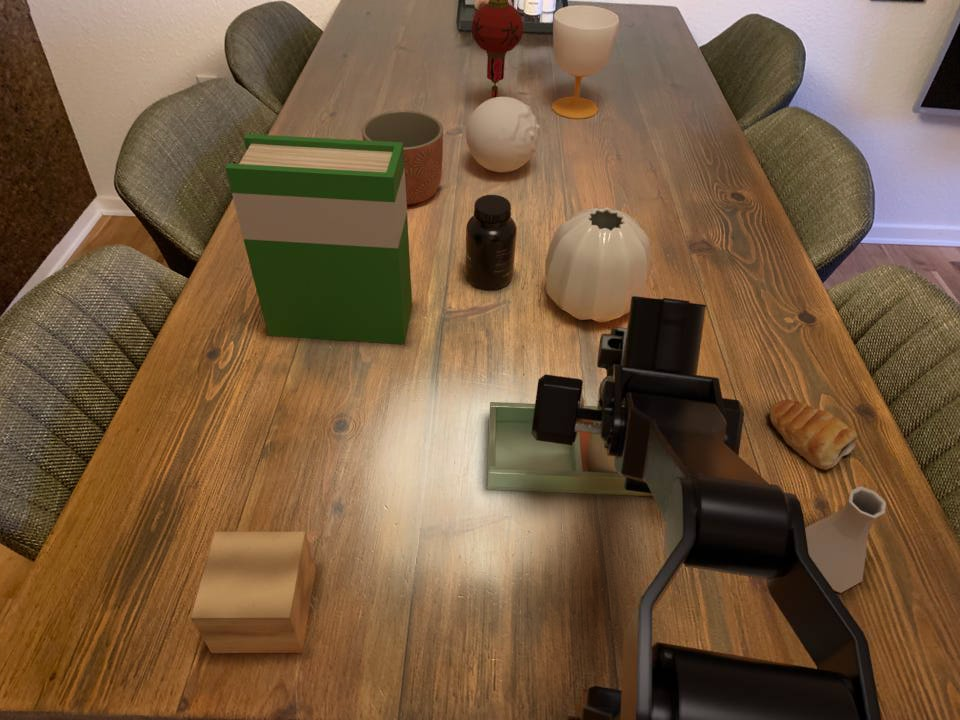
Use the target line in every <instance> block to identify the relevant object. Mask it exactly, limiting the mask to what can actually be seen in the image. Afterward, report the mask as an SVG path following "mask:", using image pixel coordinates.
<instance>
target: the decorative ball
mask: <svg viewBox="0 0 960 720" xmlns="http://www.w3.org/2000/svg"><path fill="white" fill-rule="evenodd" d="M540 129H541V127H540V125H539V124H538V120H537V118H536V115H535V114H533V111H532V108H531V107H530V105H528V104H527V103H525V102H522V101H521V100H519V99H517V98H514V97H511V96H498V97H495V98H492V99H491V98H488V99H486V100H485V101H483V102H482V103H480V105H478V106H477V107H476V108H475V110H474V111H473V112H472V114H471V115H470V117H469V119H468V121H467V125H466V132H465V137H466V139H465V140H466V144H467V148H468V150H469V153H470V155H471V156H472V158H473V159H474V160H475V161H476V162H477V164H479V165H480V166H482V168H484V169H486V170H489V171H492V172H495V173H510V172H512V171H515V170H518V169H519V168H521V167H522V166H524V165H525V164H526V163H528V162H529V160H530V159H531V158H532V157H533V155H534V153H536V152H537V149H538V146H539V141H540V140H539V131H540Z"/></svg>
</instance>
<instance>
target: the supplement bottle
mask: <svg viewBox="0 0 960 720" xmlns="http://www.w3.org/2000/svg"><path fill="white" fill-rule="evenodd" d="M511 210H512V205H511V202H510V200H509V199H507V197H504V196H501V195H498V194H485V195H482V196H480V197H478V198H477V199H476V200H475V202H474V206H473V215H472V216H471V217H470V219H469V220H468V221H467V223H466V227H465V266H464V267H465V271H464V272H465V277H466V278H467V281H468V282H469V283H470V284H472V285H473V286H474V287H476V288H478V289H479V288H480V289H481V290H488V291H489V290H490V291H491V290H498V289H501V288H503V287H505V286H507V285H508V284H509V283H511V281H512V279H513V277H514V269H515V259H516V258H515V256H516V255H515V254H516V245H517V231H518V229H517V224H516V222H515V220H514V219H513V218H512V211H511Z"/></svg>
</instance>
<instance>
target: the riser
mask: <svg viewBox="0 0 960 720" xmlns="http://www.w3.org/2000/svg"><path fill="white" fill-rule="evenodd" d="M316 571H317V569H316V565H315V562H314V558H313V555H312V552H311V549H310V545H309V540H308V538H307V534H306V531H214V534H213V537H212V541H211V544H210V548H209V551H208V554H207V558H206V562H205V564H204V570H203V571H202V572H203V573H202V575H201V579H200V583H199V586H198V589H197V594H196V598H195V601H194V604H193V608H192V611H191V615H190V619H191V621H192V623H193V624H194V627H195V628H196V630H197V631H198V633H199V634H200V636H201V638H202V640H203V642H204V643H205V645H206V646H207V649H208V650H209V651H210V653H211V654H302V653H303V652H304V647H305V641H306V633H307V627H308V620H309V615H310V608H311V602H312V597H313V591H314V583H315V578H316Z"/></svg>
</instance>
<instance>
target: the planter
mask: <svg viewBox="0 0 960 720" xmlns="http://www.w3.org/2000/svg"><path fill="white" fill-rule="evenodd" d="M361 137H362V140H365V141H383V142H401V143H403V148H404V166H405V184H406V202H407V205H415V204H420V203H422V202H424V201H427V200H428V199H430V198H432V197H433V196H434V195H435V194H436V192H437V191H438V189H439V188H440V184H441V180H442V174H443V158H444V157H443V156H444V155H443V153H444V127H443V124H442V122H441V121H440V120H438V119H437V117H434V116H432V115H430V114H427V113H425V112H421V111H416V110H407V109H406V110H405V109H402V110H400V109H399V110H391V111H385V112H382V113H379V114H376V115H374V116H371V118H369V119H368V120H366V121H365V122H364V124H363V125H362V128H361Z"/></svg>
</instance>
